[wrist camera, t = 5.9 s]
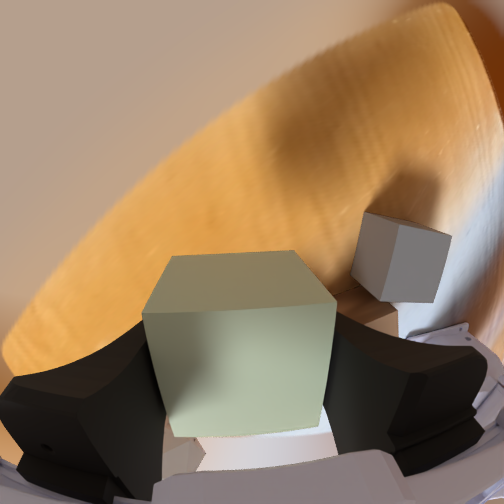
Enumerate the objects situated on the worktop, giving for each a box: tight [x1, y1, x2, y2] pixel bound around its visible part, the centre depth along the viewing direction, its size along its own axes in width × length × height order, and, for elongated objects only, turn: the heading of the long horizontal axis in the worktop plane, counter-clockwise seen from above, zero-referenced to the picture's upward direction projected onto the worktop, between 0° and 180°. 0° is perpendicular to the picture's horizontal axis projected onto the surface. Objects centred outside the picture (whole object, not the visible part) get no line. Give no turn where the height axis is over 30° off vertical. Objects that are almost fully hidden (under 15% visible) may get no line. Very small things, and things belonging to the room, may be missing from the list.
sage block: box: [142, 250, 337, 437], centre depth 10 cm, size 5×5×5 cm
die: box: [162, 415, 206, 480], centre depth 21 cm, size 8×9×10 cm
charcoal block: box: [350, 212, 452, 303], centre depth 19 cm, size 5×5×5 cm
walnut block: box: [333, 286, 399, 337], centre depth 21 cm, size 5×5×5 cm
